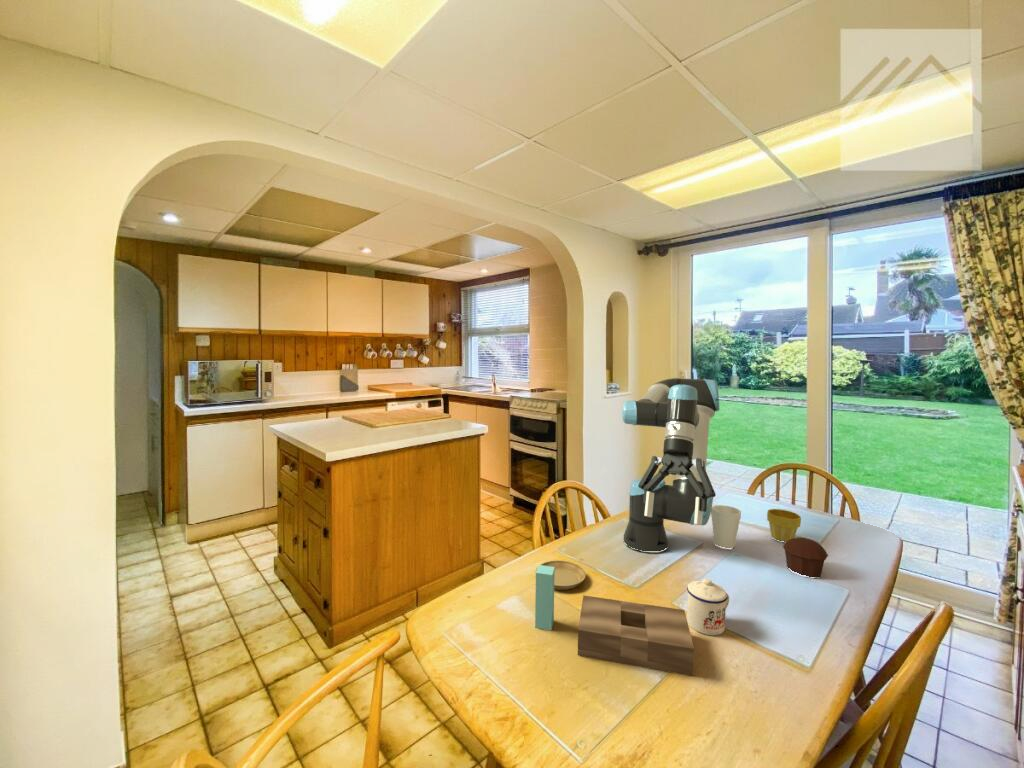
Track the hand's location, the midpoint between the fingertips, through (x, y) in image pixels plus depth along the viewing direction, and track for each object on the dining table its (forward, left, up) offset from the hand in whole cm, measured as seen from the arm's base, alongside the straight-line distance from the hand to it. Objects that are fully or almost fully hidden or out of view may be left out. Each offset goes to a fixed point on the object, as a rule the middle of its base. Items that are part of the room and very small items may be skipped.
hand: (671, 520), depth 111 cm
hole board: (+16, -10, -24) cm, 31 cm away
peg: (+14, -31, -24) cm, 42 cm away
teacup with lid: (+3, +9, -24) cm, 26 cm away
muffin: (-33, +43, -24) cm, 60 cm away
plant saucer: (-8, -30, -25) cm, 39 cm away
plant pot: (-57, +45, -24) cm, 77 cm away
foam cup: (-46, +23, -24) cm, 57 cm away
